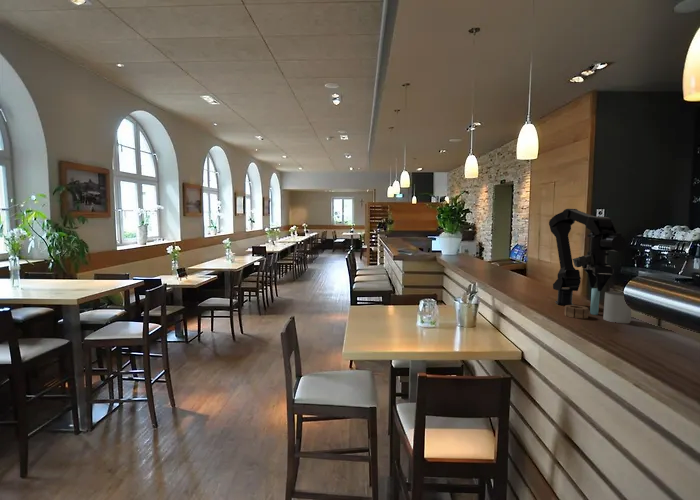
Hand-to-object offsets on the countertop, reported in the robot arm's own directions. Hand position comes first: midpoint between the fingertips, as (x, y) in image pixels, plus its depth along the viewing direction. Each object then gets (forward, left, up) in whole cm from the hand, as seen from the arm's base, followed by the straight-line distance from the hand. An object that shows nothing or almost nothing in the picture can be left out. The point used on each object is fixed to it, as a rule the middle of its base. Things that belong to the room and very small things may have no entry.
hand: (595, 289), depth 160 cm
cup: (+9, +5, -10) cm, 15 cm away
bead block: (+7, -8, -10) cm, 15 cm away
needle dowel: (0, 0, -10) cm, 10 cm away
